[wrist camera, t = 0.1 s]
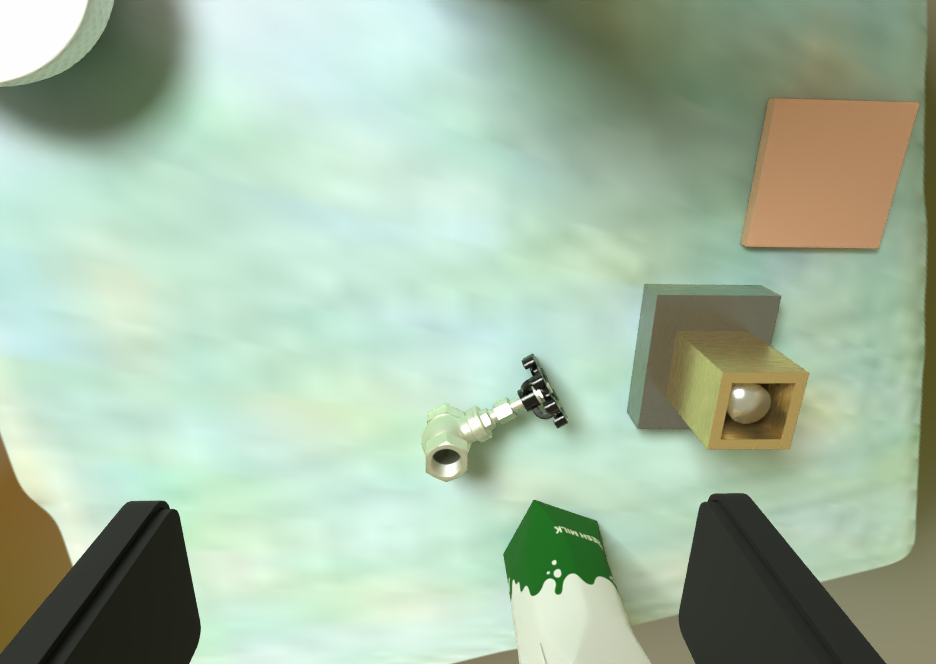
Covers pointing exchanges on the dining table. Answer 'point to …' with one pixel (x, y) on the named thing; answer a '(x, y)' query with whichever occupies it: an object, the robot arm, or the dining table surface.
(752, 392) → the grey base with post
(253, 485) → the dining table surface
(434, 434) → the valve
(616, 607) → the milk carton
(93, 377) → the dining table surface
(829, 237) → the tile
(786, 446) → the sleeve
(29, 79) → the cereal bowl
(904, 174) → the dining table surface
